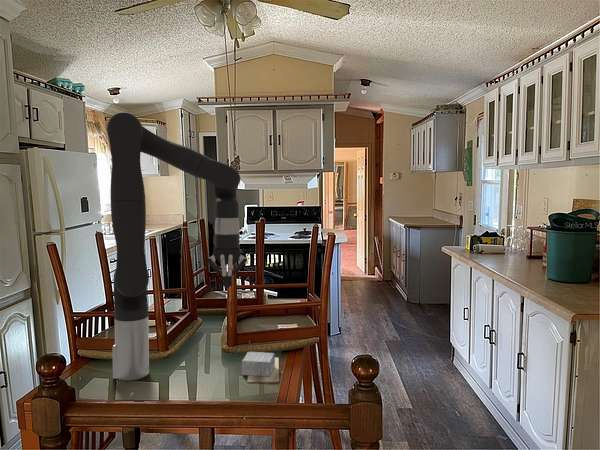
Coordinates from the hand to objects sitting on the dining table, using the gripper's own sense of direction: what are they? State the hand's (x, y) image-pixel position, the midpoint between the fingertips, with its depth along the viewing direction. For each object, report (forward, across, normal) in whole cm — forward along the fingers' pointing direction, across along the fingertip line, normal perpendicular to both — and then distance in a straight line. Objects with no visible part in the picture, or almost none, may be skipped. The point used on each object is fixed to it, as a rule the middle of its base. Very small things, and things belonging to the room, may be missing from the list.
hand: (227, 287), depth 137 cm
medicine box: (+22, +6, -6) cm, 23 cm away
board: (+24, +12, -5) cm, 27 cm away
